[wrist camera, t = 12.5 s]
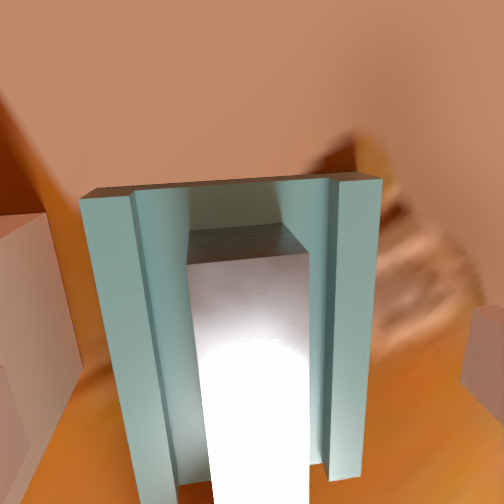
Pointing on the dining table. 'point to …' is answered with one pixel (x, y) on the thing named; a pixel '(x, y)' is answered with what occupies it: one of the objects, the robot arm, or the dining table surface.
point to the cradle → (181, 322)
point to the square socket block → (35, 335)
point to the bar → (253, 360)
